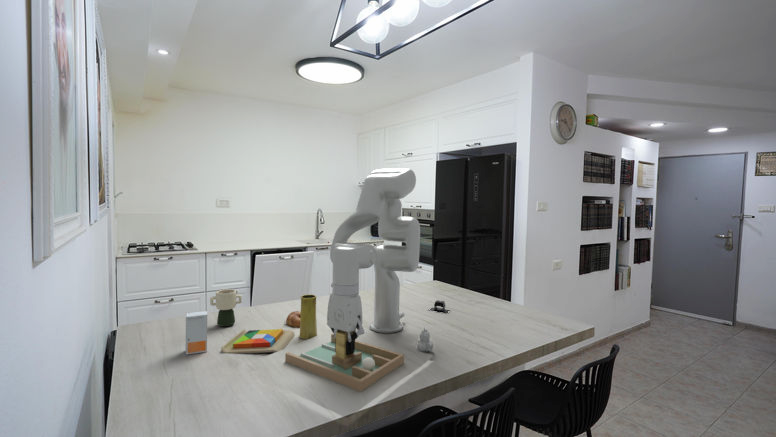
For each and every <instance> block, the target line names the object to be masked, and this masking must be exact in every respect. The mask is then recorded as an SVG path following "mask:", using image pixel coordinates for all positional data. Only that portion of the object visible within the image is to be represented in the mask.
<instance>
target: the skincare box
mask: <svg viewBox="0 0 776 437" xmlns="http://www.w3.org/2000/svg"><path fill="white" fill-rule="evenodd" d="M207 352H208V310H204V311H203V310H202V311H194V312H188V313H185V355H186V356H188V355H192V354H193V355H194V354H200V353H201V354H202V353H207Z"/></svg>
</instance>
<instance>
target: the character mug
mask: <svg viewBox="0 0 776 437" xmlns="http://www.w3.org/2000/svg"><path fill="white" fill-rule="evenodd" d="M242 296H243V295H242V294H237V290H236V289H232V288H231V289H229V288H227V289H226V288H225V289H220V290H217V291H216V292H215V296H211V297H210V299H209V302H210V306H211V307H216V309H217V310H218V314H217V319H216V320H217V322H216V324H217V325H218V326H221V327H227V326H231V325H234V324H235V322H236V317H235V311H234V309H235V308H236V306H237V304H242V300H243V299H242V298H243V297H242ZM237 299H238V300H237ZM214 300H215V302H214Z"/></svg>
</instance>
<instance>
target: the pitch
mask: <svg viewBox="0 0 776 437" xmlns="http://www.w3.org/2000/svg"><path fill="white" fill-rule="evenodd" d="M333 334H334V333H331V336H330V341H329V342H327V343H321V345H320V346H318V347H316V348H313V349H311V350H309V351H306V352H300V354H299V355H297V354H294V353H291V352H286V353H285V356H284V358H285V363H288V364H290V365H292V366H295V367H296V368H297V367H298V368H300V369H302V370H305V371H308V372H310V373H312V374H315V375H318V376H320V377H322V378H325V379H328V380H330V381H333V382H335V383H337V384H340V385H342V386H345V387H348V388H350V389H352V390H355V391H357V392H360V393H362V392H363V391H364V390H365V389H367V388H369V387H370V386H372V385H373V384H375V383H376V382H378V381H379V380H381V379H382V378H384V377H385V376H387V375H388V374H389V373H391V372H393V371H394V370H396V369H398V368H399V367H400V366H401V365H403V364H404V363H405V354H402V353H399V352H396V351H392V350H389V349H387V348H382V347H379V346H376V345H373V344H369V343H366V342H362V341H359V340H357V339H355V352H354V353H355V354H356V353H358V352H362V361H361V362H359V363H357V364H355V365H353V366H352V367H350V368H348V369H346V370H345V369H343V367H342V366H339V365H336V364H334V363H332V356H333V355H335V354H336V351H335V337H334V336H333ZM367 357H370V358H372V359H373V360H374V361H375V367H374V369H373V370H371V371H368V370H366V369H363V367H362V362H363V360H364V359H365V358H367Z"/></svg>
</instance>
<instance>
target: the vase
mask: <svg viewBox="0 0 776 437" xmlns="http://www.w3.org/2000/svg"><path fill="white" fill-rule="evenodd" d="M300 312H301V319H300V327H299V338H300V339H302V340H303V339H304V340H310V339H313V338H316V337H317V336H318V327H317V296H316V295H314V294H309V293H308V294H302V295H301V296H300Z"/></svg>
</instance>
